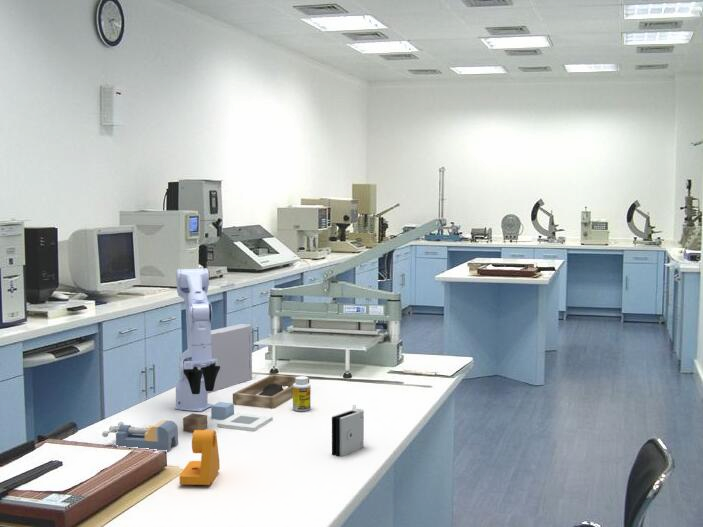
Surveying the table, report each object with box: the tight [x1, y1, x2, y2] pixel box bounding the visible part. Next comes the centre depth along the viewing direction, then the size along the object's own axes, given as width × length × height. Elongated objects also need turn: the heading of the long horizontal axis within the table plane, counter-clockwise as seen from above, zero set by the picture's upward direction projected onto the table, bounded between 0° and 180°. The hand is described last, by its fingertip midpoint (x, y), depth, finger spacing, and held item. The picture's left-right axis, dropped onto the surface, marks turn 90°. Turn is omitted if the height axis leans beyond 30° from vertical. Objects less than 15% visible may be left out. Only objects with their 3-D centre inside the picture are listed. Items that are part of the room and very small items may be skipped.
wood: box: [258, 383, 284, 396], centre depth 269 cm, size 22×8×3 cm, turn 171°
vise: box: [101, 419, 179, 453], centre depth 216 cm, size 18×10×7 cm, turn 79°
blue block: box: [210, 401, 235, 421], centre depth 244 cm, size 5×5×4 cm
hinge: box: [331, 404, 365, 457], centre depth 214 cm, size 14×5×10 cm, turn 153°
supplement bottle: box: [292, 375, 311, 412], centre depth 252 cm, size 6×6×10 cm
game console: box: [188, 323, 253, 394], centre depth 282 cm, size 6×27×20 cm, turn 147°
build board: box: [216, 412, 274, 432], centre depth 237 cm, size 12×12×1 cm
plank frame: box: [232, 374, 310, 409], centre depth 269 cm, size 14×28×4 cm, turn 159°
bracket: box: [179, 429, 221, 486], centre depth 191 cm, size 11×7×12 cm, turn 177°
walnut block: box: [182, 413, 208, 433], centre depth 231 cm, size 5×5×4 cm
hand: (202, 392), depth 231 cm, fingers open, 7 cm apart
